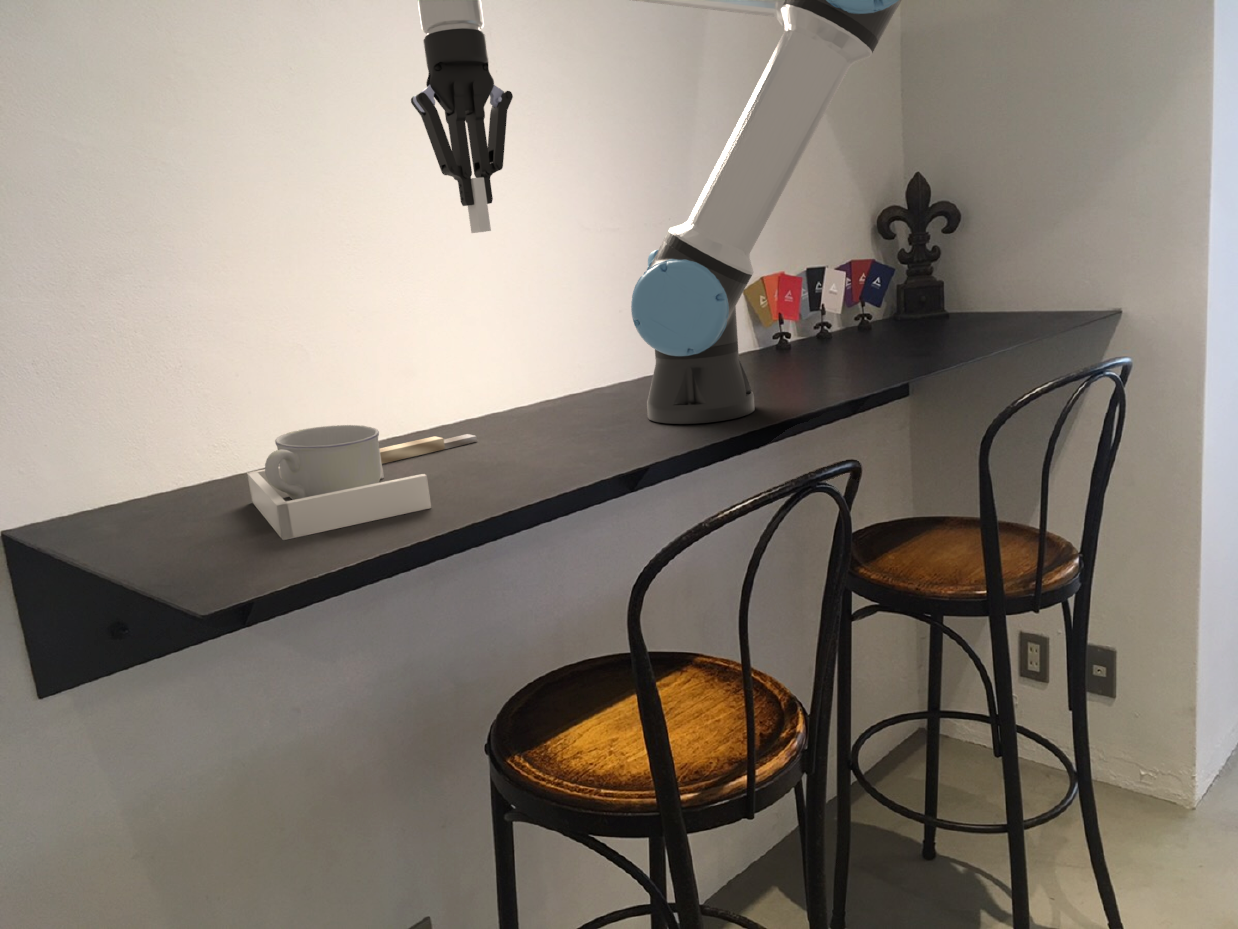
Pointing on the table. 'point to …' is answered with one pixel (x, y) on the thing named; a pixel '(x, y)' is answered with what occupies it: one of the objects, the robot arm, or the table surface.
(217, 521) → the table surface
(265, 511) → the tray
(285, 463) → the teacup
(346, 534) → the table surface
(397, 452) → the birch bar
